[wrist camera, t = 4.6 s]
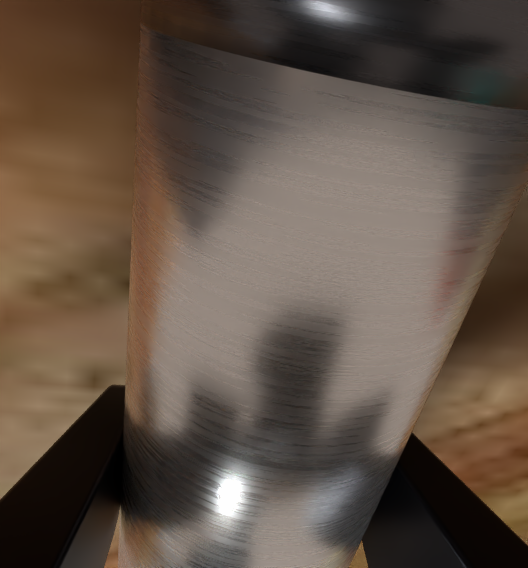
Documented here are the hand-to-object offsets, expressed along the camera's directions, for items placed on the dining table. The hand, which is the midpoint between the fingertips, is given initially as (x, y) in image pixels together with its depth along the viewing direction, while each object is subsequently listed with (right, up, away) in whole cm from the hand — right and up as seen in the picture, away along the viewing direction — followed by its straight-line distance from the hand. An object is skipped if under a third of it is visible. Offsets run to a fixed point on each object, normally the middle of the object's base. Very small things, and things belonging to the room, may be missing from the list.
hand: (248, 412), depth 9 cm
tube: (+1, +4, -1) cm, 4 cm away
